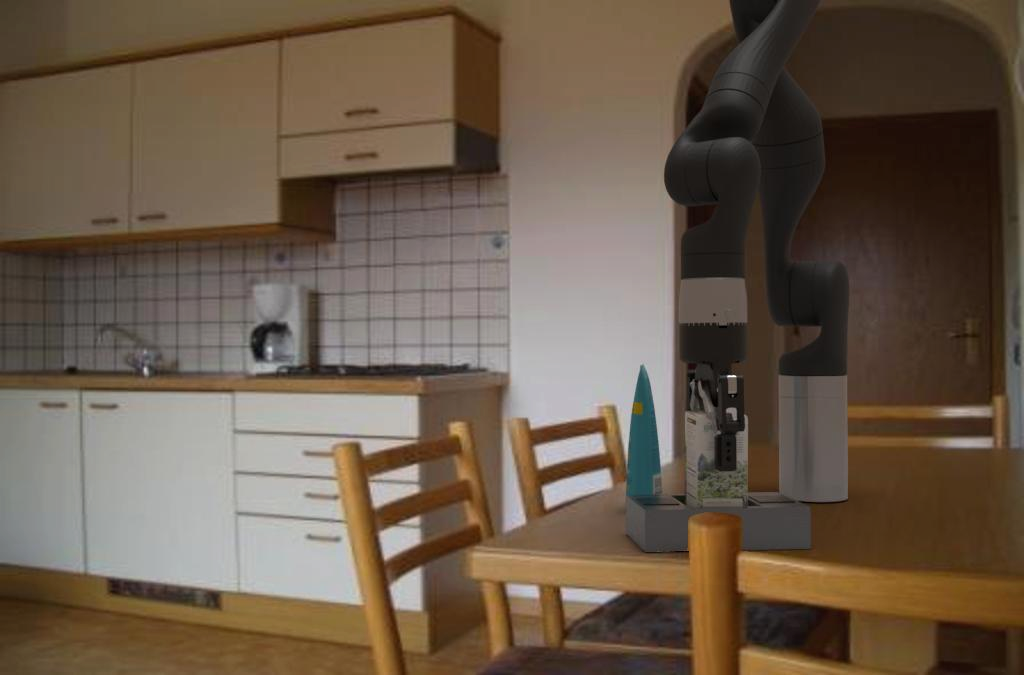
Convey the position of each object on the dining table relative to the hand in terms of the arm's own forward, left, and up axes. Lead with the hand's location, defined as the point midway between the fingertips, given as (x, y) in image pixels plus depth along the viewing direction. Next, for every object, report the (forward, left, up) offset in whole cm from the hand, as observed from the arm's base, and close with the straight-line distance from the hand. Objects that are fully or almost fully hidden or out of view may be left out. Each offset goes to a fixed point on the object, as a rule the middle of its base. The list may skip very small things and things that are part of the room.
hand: (714, 465), depth 109 cm
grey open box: (0, 0, -8) cm, 8 cm away
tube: (-18, -4, -9) cm, 21 cm away
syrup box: (0, 0, -9) cm, 9 cm away
